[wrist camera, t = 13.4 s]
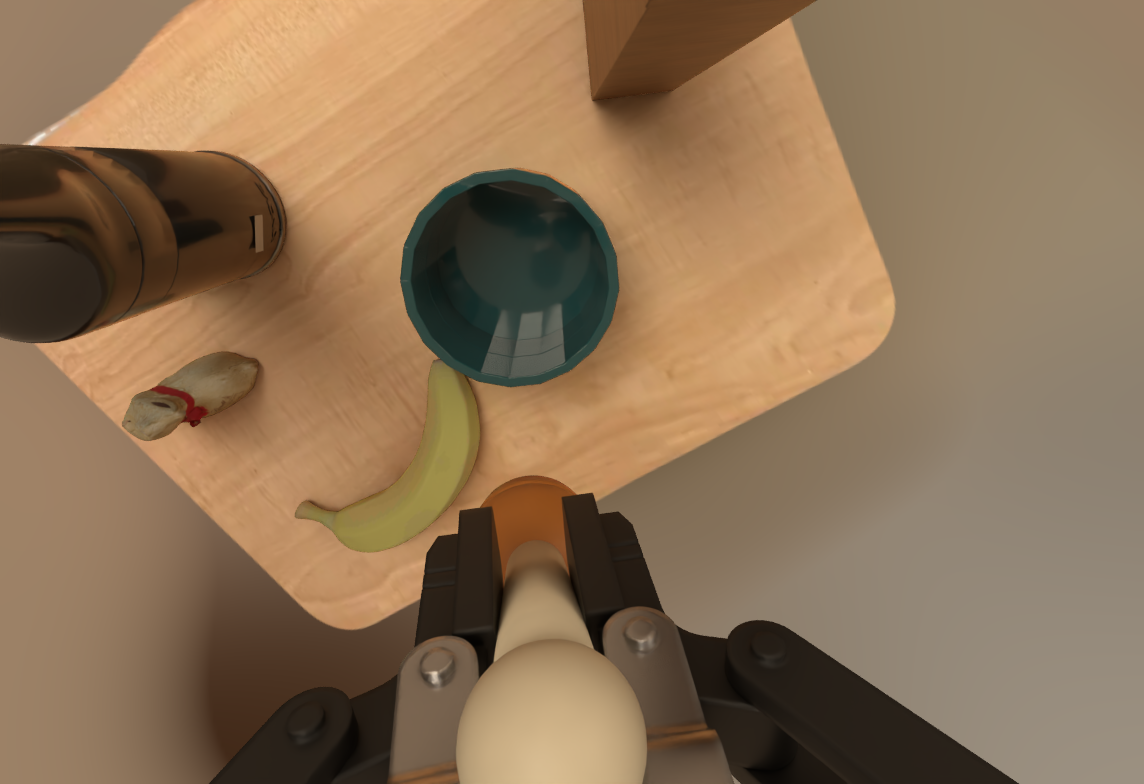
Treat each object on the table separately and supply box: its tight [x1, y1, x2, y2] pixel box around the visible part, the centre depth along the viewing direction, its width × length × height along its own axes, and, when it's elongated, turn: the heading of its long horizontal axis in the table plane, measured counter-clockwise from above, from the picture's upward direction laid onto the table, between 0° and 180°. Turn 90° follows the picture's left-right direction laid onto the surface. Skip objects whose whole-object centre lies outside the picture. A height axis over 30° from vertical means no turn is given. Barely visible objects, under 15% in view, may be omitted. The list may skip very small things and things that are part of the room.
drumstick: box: [456, 476, 647, 784], centre depth 15 cm, size 4×19×4 cm
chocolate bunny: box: [122, 352, 258, 441], centre depth 46 cm, size 6×8×10 cm
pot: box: [400, 168, 619, 387], centre depth 43 cm, size 14×14×10 cm
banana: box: [295, 359, 480, 552], centre depth 52 cm, size 14×6×20 cm
